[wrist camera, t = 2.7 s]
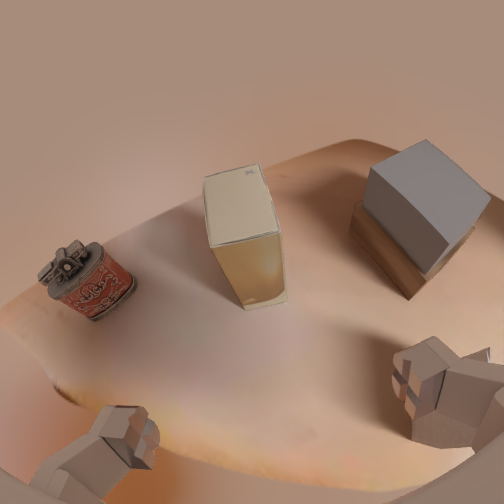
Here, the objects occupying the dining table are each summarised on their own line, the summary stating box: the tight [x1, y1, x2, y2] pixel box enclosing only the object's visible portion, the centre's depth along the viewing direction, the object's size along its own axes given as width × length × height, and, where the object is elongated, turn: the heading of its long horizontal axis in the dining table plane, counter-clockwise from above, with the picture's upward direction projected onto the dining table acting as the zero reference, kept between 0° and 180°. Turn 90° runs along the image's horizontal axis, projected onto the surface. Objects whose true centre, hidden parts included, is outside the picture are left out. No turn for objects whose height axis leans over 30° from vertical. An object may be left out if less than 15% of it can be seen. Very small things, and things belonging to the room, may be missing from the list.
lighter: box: [38, 240, 137, 322], centre depth 24 cm, size 8×3×10 cm, turn 127°
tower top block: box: [362, 140, 491, 275], centre depth 20 cm, size 9×9×5 cm
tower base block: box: [349, 200, 475, 301], centre depth 25 cm, size 10×10×5 cm
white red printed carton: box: [411, 347, 492, 449], centre depth 13 cm, size 4×7×10 cm, turn 178°
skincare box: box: [202, 163, 287, 310], centre depth 22 cm, size 6×4×12 cm
